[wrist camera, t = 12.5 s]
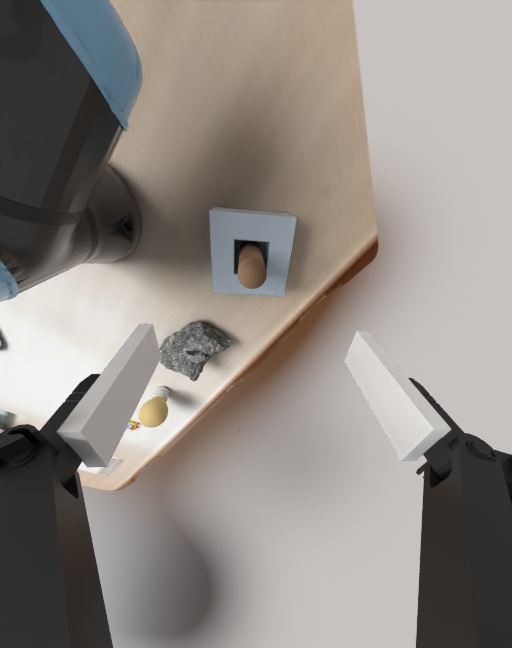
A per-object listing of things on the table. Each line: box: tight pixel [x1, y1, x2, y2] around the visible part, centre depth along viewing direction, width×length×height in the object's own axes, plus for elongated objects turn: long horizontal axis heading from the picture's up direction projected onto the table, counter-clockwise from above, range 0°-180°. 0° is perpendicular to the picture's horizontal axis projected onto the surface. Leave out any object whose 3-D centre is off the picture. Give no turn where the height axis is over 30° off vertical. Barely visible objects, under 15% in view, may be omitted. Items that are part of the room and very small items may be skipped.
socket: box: [209, 207, 297, 296], centre depth 33 cm, size 12×12×6 cm
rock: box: [159, 321, 231, 381], centre depth 44 cm, size 13×13×10 cm
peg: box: [238, 240, 267, 289], centre depth 30 cm, size 4×4×12 cm
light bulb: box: [139, 387, 170, 427], centre depth 51 cm, size 6×6×10 cm
